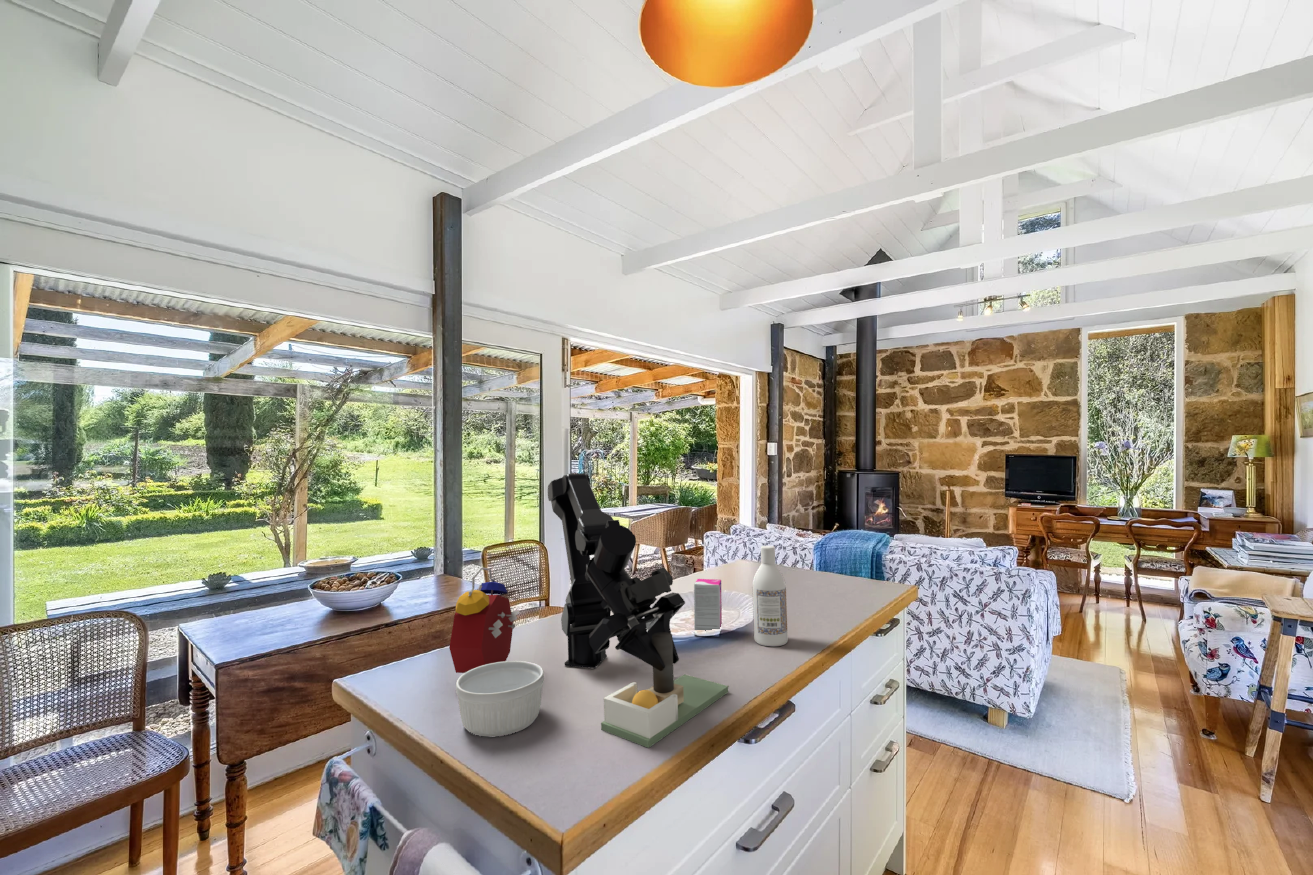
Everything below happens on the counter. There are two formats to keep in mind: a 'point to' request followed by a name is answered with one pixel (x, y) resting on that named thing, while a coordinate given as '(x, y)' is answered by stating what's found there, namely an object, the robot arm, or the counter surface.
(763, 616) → the bath foam
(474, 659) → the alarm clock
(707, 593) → the supplement box
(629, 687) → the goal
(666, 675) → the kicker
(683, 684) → the board
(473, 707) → the ramekin
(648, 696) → the ball
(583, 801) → the counter surface
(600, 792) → the counter surface
